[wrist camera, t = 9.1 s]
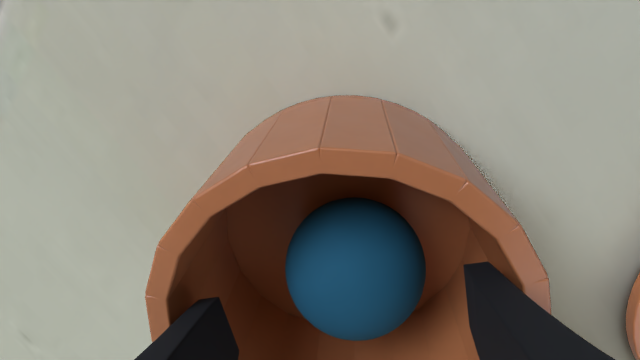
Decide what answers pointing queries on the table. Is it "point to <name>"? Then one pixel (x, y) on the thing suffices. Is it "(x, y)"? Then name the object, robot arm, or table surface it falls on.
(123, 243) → the table surface
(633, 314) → the pot lid
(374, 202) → the ball
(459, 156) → the orange round open container
